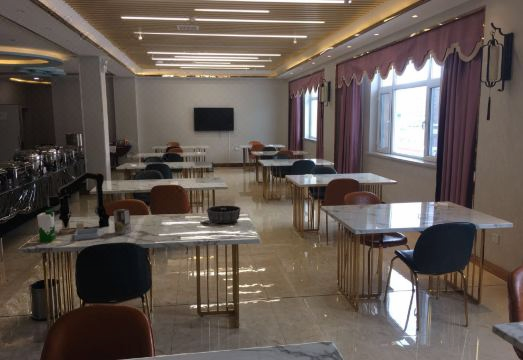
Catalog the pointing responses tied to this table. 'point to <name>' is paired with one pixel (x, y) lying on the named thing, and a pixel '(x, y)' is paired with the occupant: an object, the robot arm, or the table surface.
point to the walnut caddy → (69, 231)
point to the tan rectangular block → (67, 225)
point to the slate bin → (85, 235)
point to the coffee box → (122, 221)
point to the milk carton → (46, 226)
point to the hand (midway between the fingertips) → (66, 226)
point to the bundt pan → (223, 214)
